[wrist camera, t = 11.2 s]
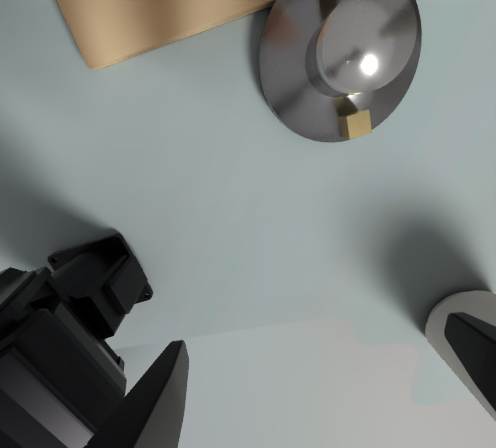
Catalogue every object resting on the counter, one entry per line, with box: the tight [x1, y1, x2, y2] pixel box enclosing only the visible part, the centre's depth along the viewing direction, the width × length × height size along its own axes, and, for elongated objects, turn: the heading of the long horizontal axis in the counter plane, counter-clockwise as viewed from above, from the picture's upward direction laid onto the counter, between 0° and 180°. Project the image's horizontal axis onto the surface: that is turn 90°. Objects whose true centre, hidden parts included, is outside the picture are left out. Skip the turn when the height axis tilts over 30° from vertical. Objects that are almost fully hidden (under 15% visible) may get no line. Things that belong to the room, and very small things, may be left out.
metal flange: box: [259, 0, 422, 142], centre depth 15 cm, size 10×10×5 cm
